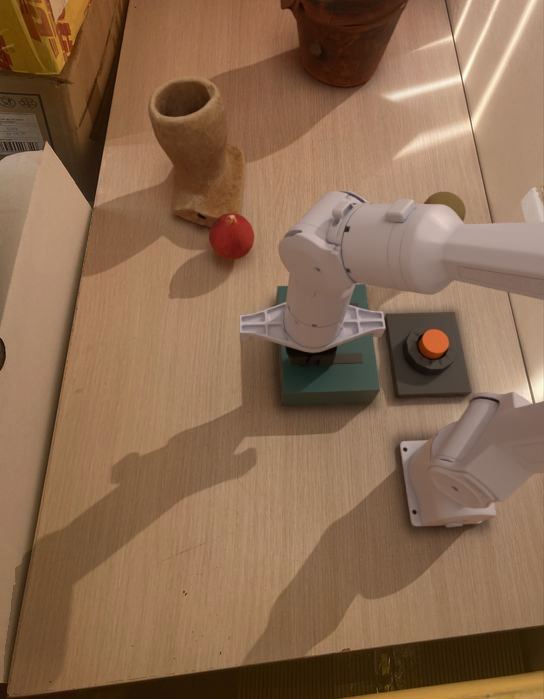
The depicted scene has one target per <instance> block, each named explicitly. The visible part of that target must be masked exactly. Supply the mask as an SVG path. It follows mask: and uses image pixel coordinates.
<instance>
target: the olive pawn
mask: <svg viewBox="0 0 544 699" xmlns="http://www.w3.org/2000/svg"><path fill="white" fill-rule="evenodd" d="M423 204H442V205H446V206H448V207H450V208H451V209H452V210H453V211H454V212H455V213H456V214H457V215H458V216H459V217H460V219H461V220H462V221H463V222H464V221H465V217H466V213H467V211H466V204H465V203H464V202H463V200H462V199H461V197H459V195H457V194H455V193H453V192H451V191H439V192H438V191H437V192H435V193H433V194H431V195H429V196H428V198H427V199H426V200H424V202H423Z"/></svg>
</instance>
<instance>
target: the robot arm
mask: <svg viewBox="0 0 544 699" xmlns="http://www.w3.org/2000/svg"><path fill="white" fill-rule="evenodd" d="M277 250H278V256H279V258H280V261H281V262H282V264H283V266H284V267H285V269H286V271H287V272H288V274H289V275H288V282H287V283H288V284H287V286H288V290H287V298H286V302H285V303H282V304H279V305H276V304H275V305H274V306H271V307H268V308H265V309H262V310H260V311H256V312H253V313H248V314H239V315H238V324H239V328H238V329H239V341H240V342H248V341H250V340H251V339H252V337H253V338H257V339H261V340H265V341H268V342H271V343H275V344H277V345H278V344H281V345H284V346H286V353H287V355H288V357H289V358H295V359H296V360H297V361H298V363H299V366H300V367H302V366H311V365H312V364H313V363H315V362H316V361H317V360H319V359H321V358H324V357H333V356H334V355H335V353H336V351H337V346H338V345H341V344H343V343H346V342H349V341H351V340H354V339H356V338H359V337H362V336H364V335H367V334H371V336H372V337H373V338H382V337H383V335H384V333H385V332H386V327H385V321H384V317H385V315H384V314H385V313H384V311H383V310H370V309H369V310H366V309H362V308H358V307H355V306H351V305H349V302H350V299H351V296H352V294H353V291H354V288H355V285H356V284H365V285H366V286H372V287H377V288H385V289H390V290H395V291H396V290H397V291H401V292H409V293H416V294H421V295H429V296H432V295H436V294H438V293H440V292H442V291H443V290H445V289H446V288H447V287H448V286H449V285H450V284H451V283H453V282H455V281H456V282H461V283H465V284H470V285H473V286H477V287H482V288H487V289H492V290H495V291H501V292H505V293H508V294H509V293H510V294H515V295H519V296H524V297H526V298H528V297H529V298H532V299H537V300H542V301H544V221H528V222H527V221H526V222H523V221H522V222H492V223H491V222H489V223H488V222H487V223H464V221H462V220H461V219H460V217H459V216H458V215H457V214H456V213H455V212H454V211H453V210H452V209H451V208H450V207H448V206H446V205H442V204H424V203H415V200H414V199H413V198H397V199H396V200H395V201H394V203H393V202H392V203H391V202H389V203H387V202H368V201H367V200H366V199H365V198H364V197H363V196H361V195H359V194H358V193H356V192H354V191H350V190H344V189H342V190H332V191H331V190H330V191H327V192H324V193H323V194H322V196H320V197H319V198H318V199H317V201H316V202H315V203H314V204H312V206H311V207H310V208H309V209H308V210H307V211H306V212H305V213H304V214H303V215H302V216H301V217H300V218H299V219H298V220H297V221H296V222H295V223H294V225H292V227H291V228H290V229H288V230H287V232H286V233H285V234H284V236H283V238H281V240H280V241H279V242H278V246H277ZM404 449H405V450H406V451H405V450H404ZM399 452H400V458H401V459H400V460H401V465H402V471H403V478H404V486H405V494H406V500H407V506H408V514H409V520H410V524H411V525H412V526H413V527H417V528H418V527H436V526H437V527H439V526H445V527H444V528H459V527H463V526H464V525H477V524H478V525H479V524H481V523H483V522H484V521H487V520H490V519H493V518H496V517H497V509H496V504H495V503H503V502H505V501H506V500H507V499H509V498H510V497H511V496H512V495H513V494H514V493H515V492H517V490H519V488H521V487H522V486H523V485H524V484H525V483H526V482H527V481H528V480H530V478H532V477H533V476H534V475H536V474H544V400H542V401H539V402H535V403H533V402H530V400H528V399H527V398H525V397H524V396H522V395H520V394H518V392H515V391H510V392H507V393H497V392H489V391H488V392H487V391H483V392H482V391H481V392H476V393H475V394H473V395H472V396H471V397H470V399H469V401H468V405H467V407H466V408H465V410H464V411H463V413H462V414H461V416H460V417H459V419H458V420H457V421H453V422H451V423H448V424H446V425H445V426H443V427H442V428H441V429H439V431H437V432H436V433H435V434H434V435H432V437H430V438H429V439H427V440H426V439H423V440H403V441H401V442H400V443H399ZM413 511H414V512H415V514H414V513H413Z"/></svg>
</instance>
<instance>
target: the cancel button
mask: <svg viewBox="0 0 544 699" xmlns="http://www.w3.org/2000/svg"><path fill="white" fill-rule="evenodd" d="M448 346H449V340H448V338H447V336H446V335H445V334H444V333H443V332H442V331H440V330H437V329H431V330H428V331H426V332H425V333H424V335H423V336H422V337H421V339H420V341H419V344H418V347H419V350H420V352H421V353H422V354H423V355H424V356H425V357H427V358H430V359H436V358H439V357H441V356H442V355H443V353H444V352H445V351H446V350H447V348H448Z"/></svg>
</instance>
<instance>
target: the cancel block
mask: <svg viewBox="0 0 544 699" xmlns="http://www.w3.org/2000/svg"><path fill="white" fill-rule="evenodd" d="M384 321H385V328H386V329H385V333H386V340H387V341H386V342H387V347H388V353H389V360H390V367H391V374H392V380H393V387H394V394H395V398H396V399H404V398H405V399H407V398H431V397H433V398H434V397H435V398H437V397H463V396H464V397H465V396H466V397H467V396H470V394H472V387H471V383H470V377H469V372H468V367H467V363H466V359H465V354H464V349H463V345H462V340H461V335H460V330H459V326H458V321H457V316H456V312H455V311H447V312H446V311H444V312H442V311H441V312H407V313H406V312H404V313H386V314H385V315H384ZM431 329H437V330H440V331H442V332H443V333H444V334H445V335H446V336H447V338H448V340H449V346H448V348H447V350H446V351H445V352H444V353H443V355H442V356H441V357H439V358H436V359H430V358H427V357H425V356H424V355H423V354H422V353H421V352H420V350H419V347H418V344H419V341H420V339H421V337H422V336H423V335H424V333H425V332H426V331H428V330H431Z"/></svg>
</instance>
